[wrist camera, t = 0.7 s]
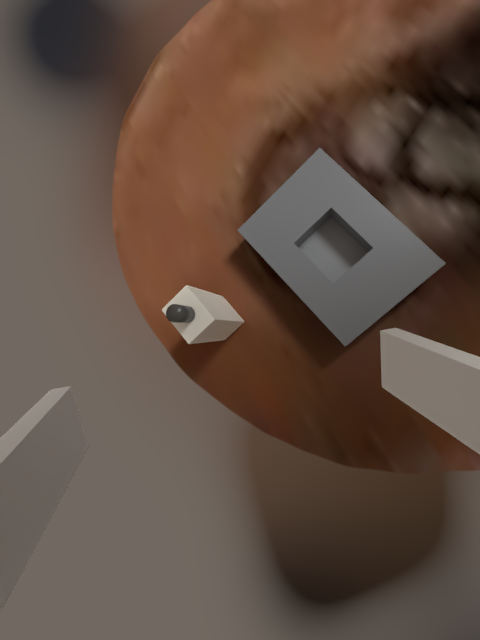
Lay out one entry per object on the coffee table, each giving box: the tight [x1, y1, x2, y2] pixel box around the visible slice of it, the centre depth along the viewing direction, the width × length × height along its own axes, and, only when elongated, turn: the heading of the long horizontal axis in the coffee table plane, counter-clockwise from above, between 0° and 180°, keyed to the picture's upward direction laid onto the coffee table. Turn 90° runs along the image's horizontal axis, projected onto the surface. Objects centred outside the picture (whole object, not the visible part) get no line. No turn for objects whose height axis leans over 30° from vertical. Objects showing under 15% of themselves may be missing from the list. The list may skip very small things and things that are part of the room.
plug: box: [162, 285, 244, 344], centre depth 37 cm, size 4×5×15 cm
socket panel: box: [238, 148, 446, 347], centre depth 39 cm, size 14×20×4 cm
